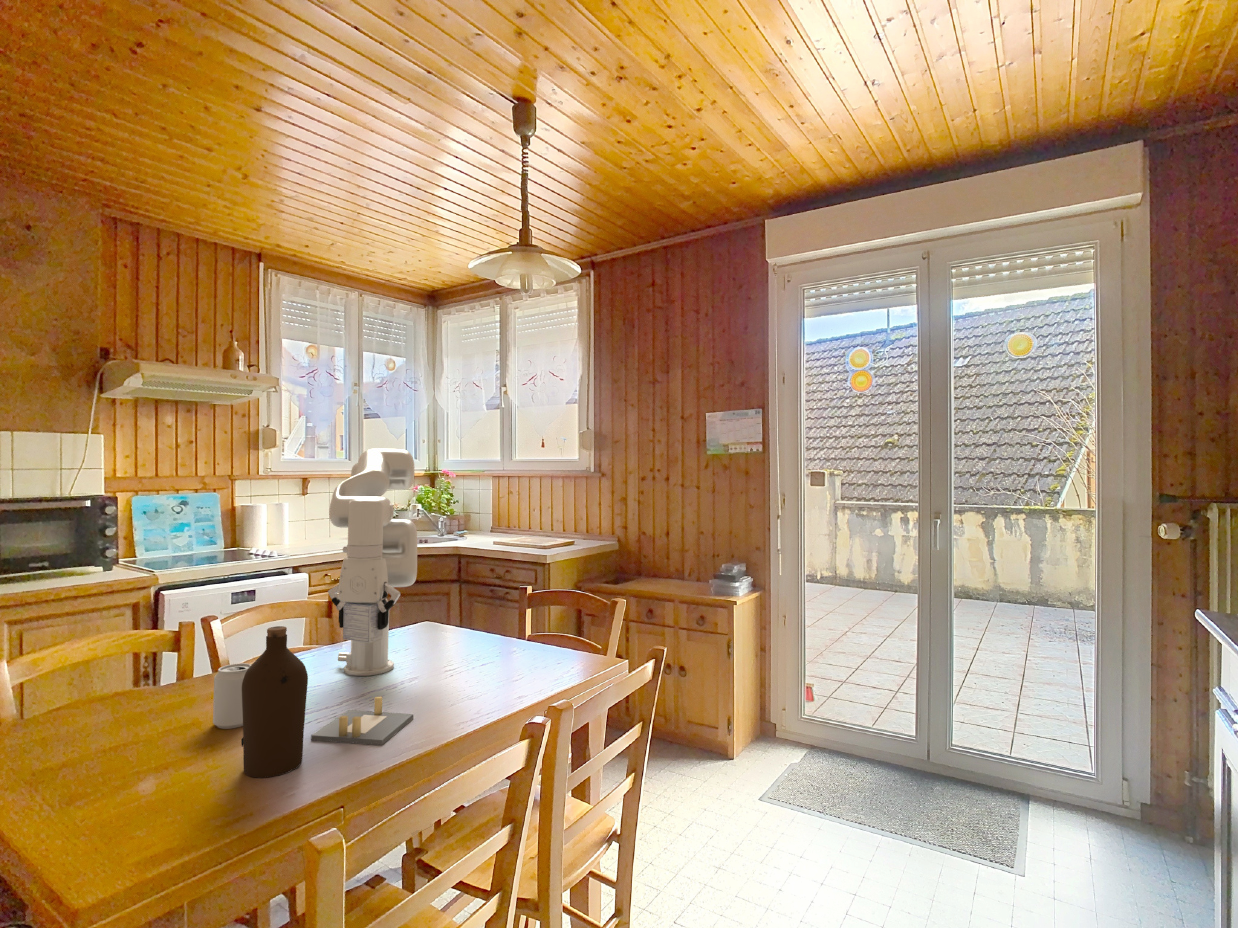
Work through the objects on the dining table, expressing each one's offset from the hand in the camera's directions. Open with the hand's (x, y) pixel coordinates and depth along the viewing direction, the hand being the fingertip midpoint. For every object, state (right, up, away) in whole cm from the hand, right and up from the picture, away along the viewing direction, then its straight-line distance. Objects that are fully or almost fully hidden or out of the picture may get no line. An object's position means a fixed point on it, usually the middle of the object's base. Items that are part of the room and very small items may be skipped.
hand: (363, 627), depth 148 cm
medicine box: (0, -3, 0) cm, 3 cm away
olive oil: (-4, -18, -31) cm, 36 cm away
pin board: (+6, -18, -14) cm, 23 cm away
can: (-23, -18, -12) cm, 31 cm away
